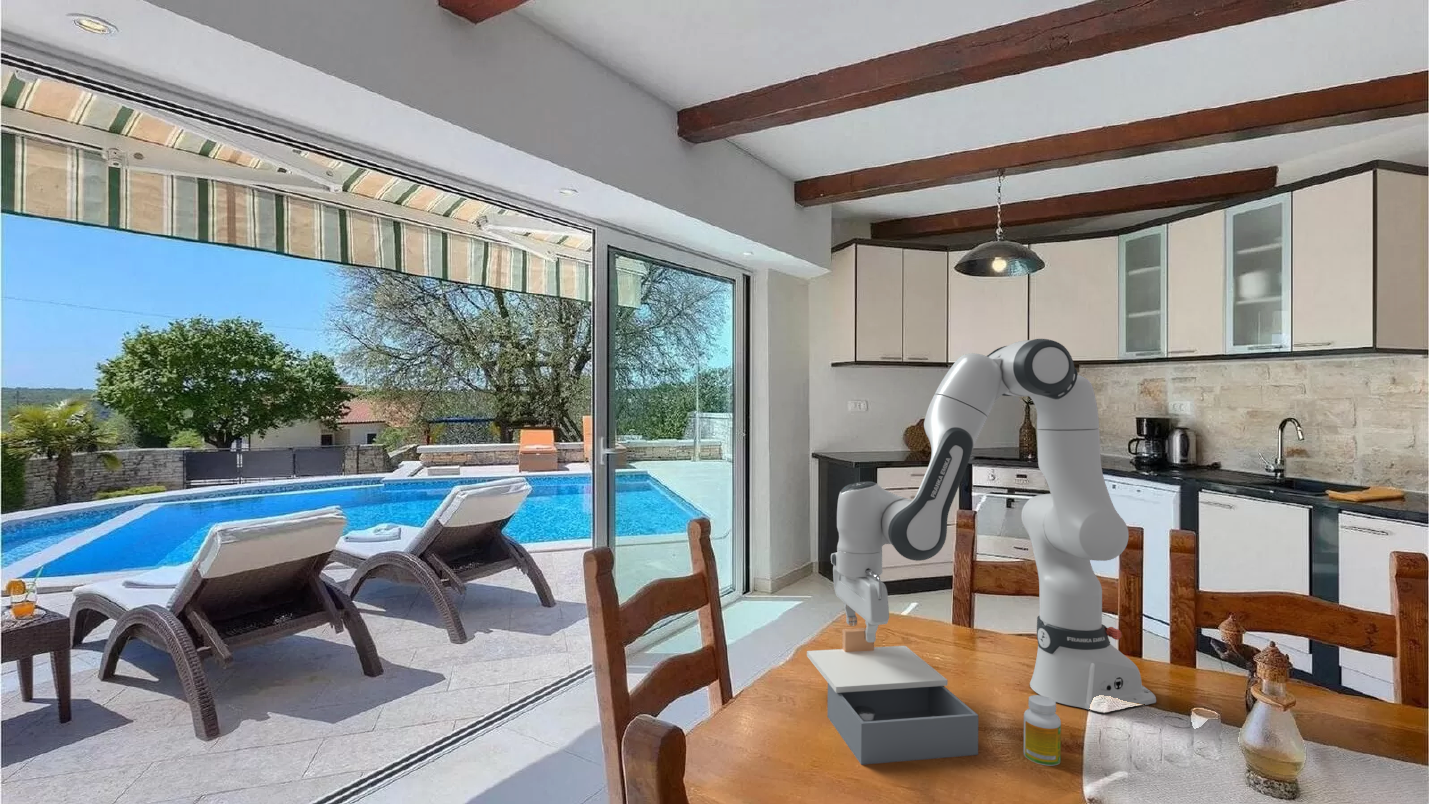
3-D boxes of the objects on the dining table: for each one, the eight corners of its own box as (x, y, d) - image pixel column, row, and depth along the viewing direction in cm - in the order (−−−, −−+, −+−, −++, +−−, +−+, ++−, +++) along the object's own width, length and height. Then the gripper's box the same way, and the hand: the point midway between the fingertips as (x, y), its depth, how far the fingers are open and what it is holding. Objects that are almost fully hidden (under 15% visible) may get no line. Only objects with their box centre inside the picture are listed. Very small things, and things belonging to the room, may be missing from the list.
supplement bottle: (1065, 771, 103) (1065, 709, 103) (1028, 767, 104) (1028, 706, 104) (1054, 753, 108) (1055, 694, 108) (1019, 749, 109) (1020, 691, 110)
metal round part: (869, 722, 117) (870, 705, 117) (878, 732, 114) (878, 715, 114) (850, 723, 117) (850, 707, 117) (858, 734, 113) (858, 716, 113)
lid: (905, 650, 134) (905, 626, 134) (947, 685, 117) (947, 657, 117) (806, 656, 130) (807, 630, 130) (836, 692, 114) (836, 664, 114)
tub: (930, 712, 122) (930, 675, 122) (978, 758, 107) (978, 715, 107) (827, 719, 119) (827, 681, 119) (861, 768, 103) (861, 723, 103)
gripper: (897, 576, 122) (898, 650, 122) (855, 551, 142) (856, 615, 142) (864, 577, 121) (865, 653, 121) (827, 553, 141) (828, 617, 141)
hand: (860, 632), depth 131 cm, fingers open, 8 cm apart
